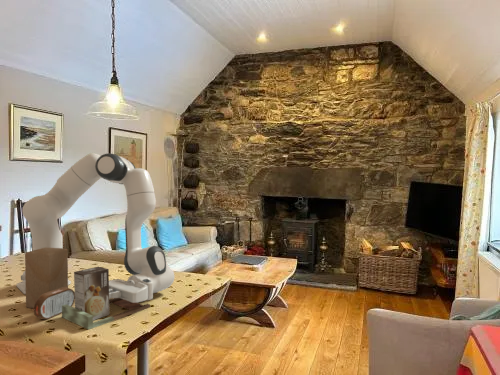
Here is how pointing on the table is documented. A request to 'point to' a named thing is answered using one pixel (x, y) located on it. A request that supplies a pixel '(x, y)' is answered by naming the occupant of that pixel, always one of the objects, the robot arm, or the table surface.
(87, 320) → the brown low open piece
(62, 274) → the wooden block
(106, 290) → the coffee box
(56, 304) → the tin
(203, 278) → the table surface
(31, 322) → the table surface
